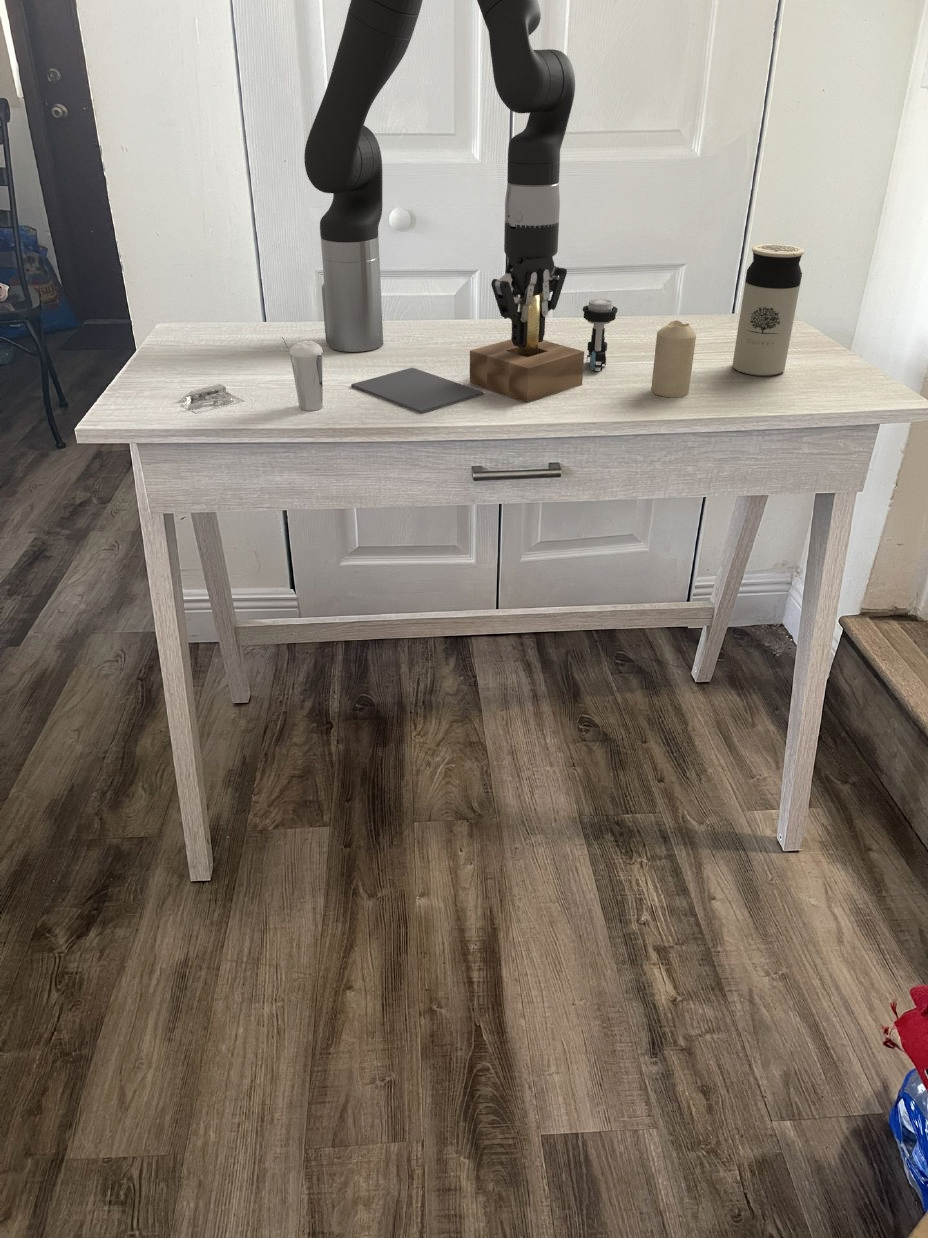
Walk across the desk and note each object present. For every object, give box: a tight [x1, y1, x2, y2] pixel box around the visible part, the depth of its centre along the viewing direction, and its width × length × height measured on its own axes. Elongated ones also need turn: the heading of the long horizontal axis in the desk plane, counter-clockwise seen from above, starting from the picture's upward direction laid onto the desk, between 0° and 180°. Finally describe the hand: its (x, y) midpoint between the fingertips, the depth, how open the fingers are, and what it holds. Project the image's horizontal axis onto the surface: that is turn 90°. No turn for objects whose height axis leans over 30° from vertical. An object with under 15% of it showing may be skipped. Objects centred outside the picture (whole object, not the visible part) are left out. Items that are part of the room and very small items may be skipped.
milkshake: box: [281, 336, 324, 412], centre depth 131 cm, size 4×5×10 cm
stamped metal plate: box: [179, 383, 246, 415], centre depth 136 cm, size 8×7×2 cm
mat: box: [351, 367, 484, 415], centre depth 140 cm, size 16×12×1 cm
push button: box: [582, 298, 619, 372], centre depth 147 cm, size 7×5×10 cm
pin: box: [518, 294, 541, 357], centre depth 138 cm, size 3×3×10 cm
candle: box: [650, 319, 697, 398], centre depth 137 cm, size 6×6×10 cm
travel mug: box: [732, 243, 805, 377], centre depth 144 cm, size 8×8×18 cm
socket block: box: [469, 338, 585, 404], centre depth 141 cm, size 12×12×5 cm
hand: (527, 343), depth 139 cm, fingers closed on pin, 3 cm apart
